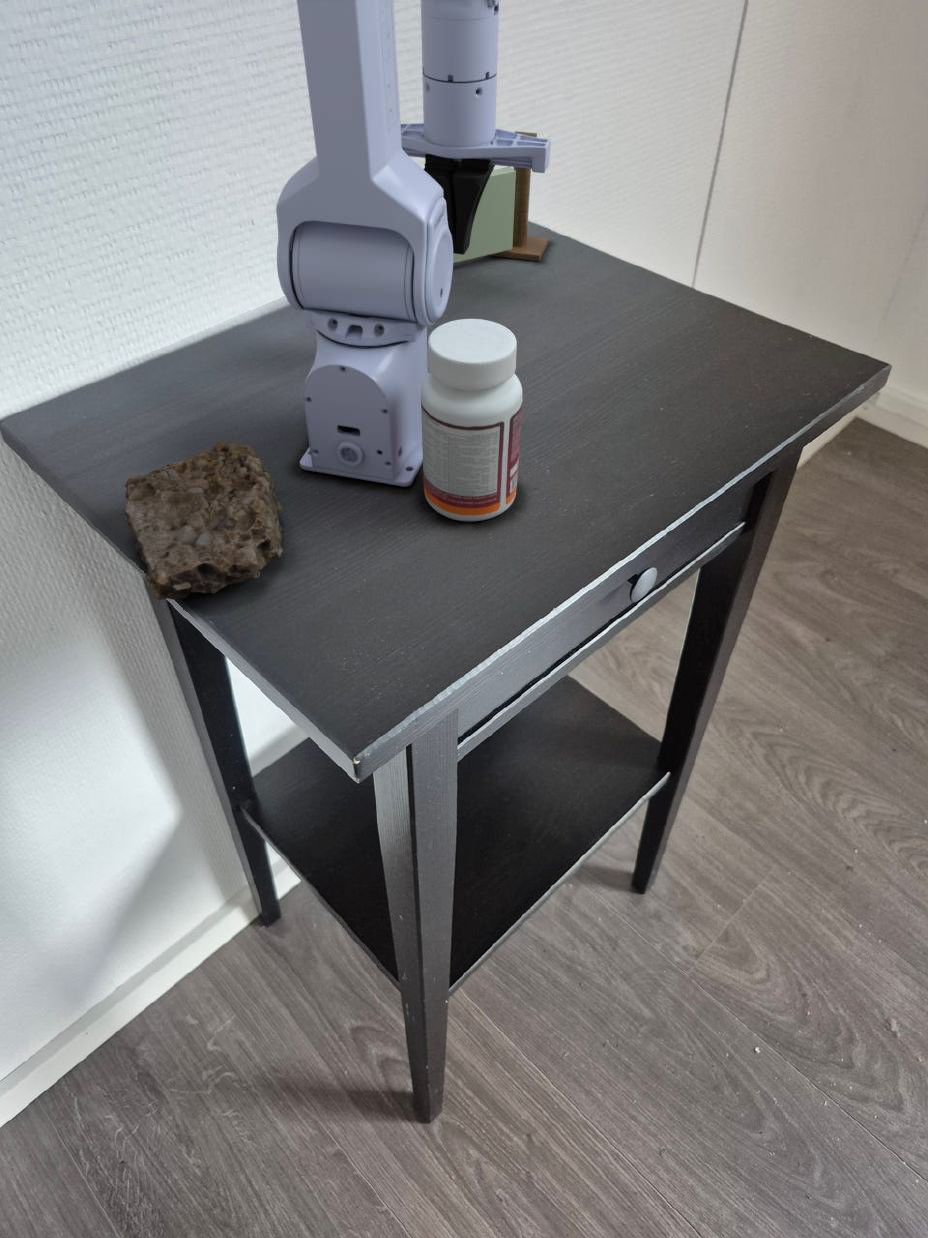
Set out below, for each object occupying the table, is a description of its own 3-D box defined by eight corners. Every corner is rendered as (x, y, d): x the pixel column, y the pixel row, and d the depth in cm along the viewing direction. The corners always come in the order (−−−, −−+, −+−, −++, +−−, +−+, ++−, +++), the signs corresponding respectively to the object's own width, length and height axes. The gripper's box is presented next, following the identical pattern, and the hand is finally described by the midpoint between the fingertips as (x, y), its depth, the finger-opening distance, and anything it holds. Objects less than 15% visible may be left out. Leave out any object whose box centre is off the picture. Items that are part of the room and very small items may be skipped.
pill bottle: (475, 457, 62) (479, 303, 54) (535, 500, 59) (548, 343, 51) (405, 491, 59) (397, 334, 51) (463, 538, 56) (465, 378, 48)
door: (394, 282, 79) (390, 201, 74) (384, 272, 80) (379, 192, 75) (517, 253, 83) (522, 174, 78) (505, 244, 84) (509, 166, 79)
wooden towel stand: (539, 261, 84) (547, 145, 76) (487, 255, 85) (490, 140, 77) (547, 243, 86) (556, 130, 79) (497, 238, 87) (501, 125, 80)
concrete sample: (243, 407, 57) (248, 464, 61) (83, 454, 53) (100, 512, 57) (326, 531, 52) (325, 583, 56) (157, 593, 48) (170, 645, 52)
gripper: (562, 64, 69) (549, 239, 79) (385, 50, 72) (393, 221, 82) (545, 91, 65) (533, 273, 74) (356, 75, 67) (368, 253, 77)
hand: (459, 249), depth 78 cm, fingers closed
